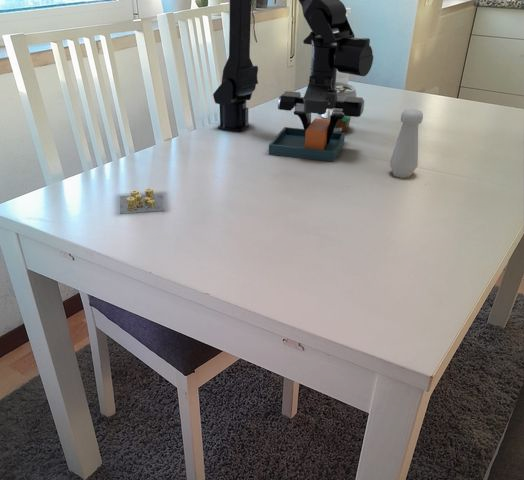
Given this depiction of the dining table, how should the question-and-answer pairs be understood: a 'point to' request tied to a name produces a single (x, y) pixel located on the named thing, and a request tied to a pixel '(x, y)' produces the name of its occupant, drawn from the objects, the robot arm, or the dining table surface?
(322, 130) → the eraser
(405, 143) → the salt shaker
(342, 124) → the food container
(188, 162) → the dining table surface
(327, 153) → the dark teal tray
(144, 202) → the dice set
